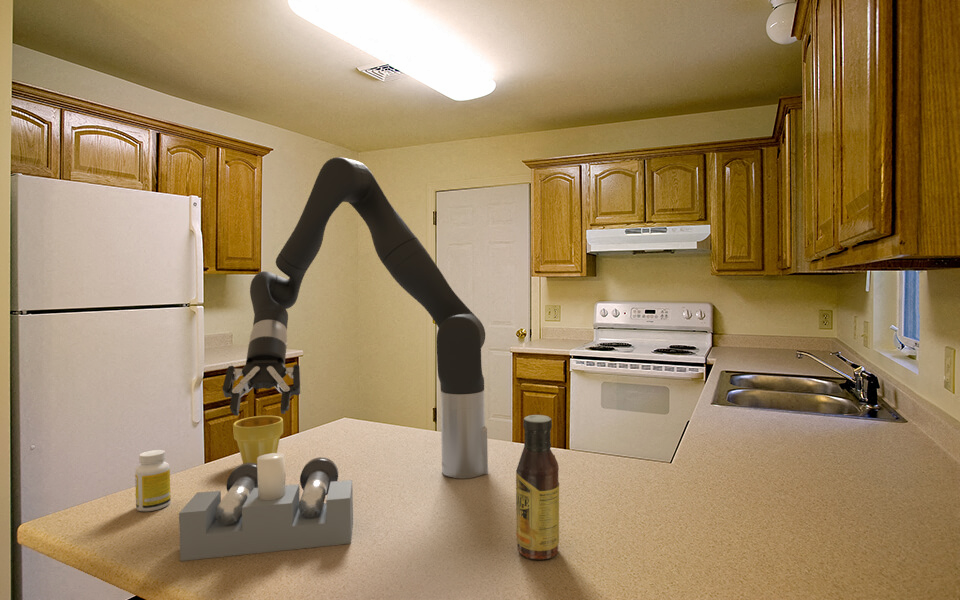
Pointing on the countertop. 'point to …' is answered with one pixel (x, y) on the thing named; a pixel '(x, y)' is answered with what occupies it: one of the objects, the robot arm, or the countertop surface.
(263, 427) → the plant pot
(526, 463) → the sauce bottle
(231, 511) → the knob
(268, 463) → the white cylinder
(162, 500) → the supplement bottle
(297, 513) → the slotted grey stand
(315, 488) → the knob
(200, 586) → the countertop surface
